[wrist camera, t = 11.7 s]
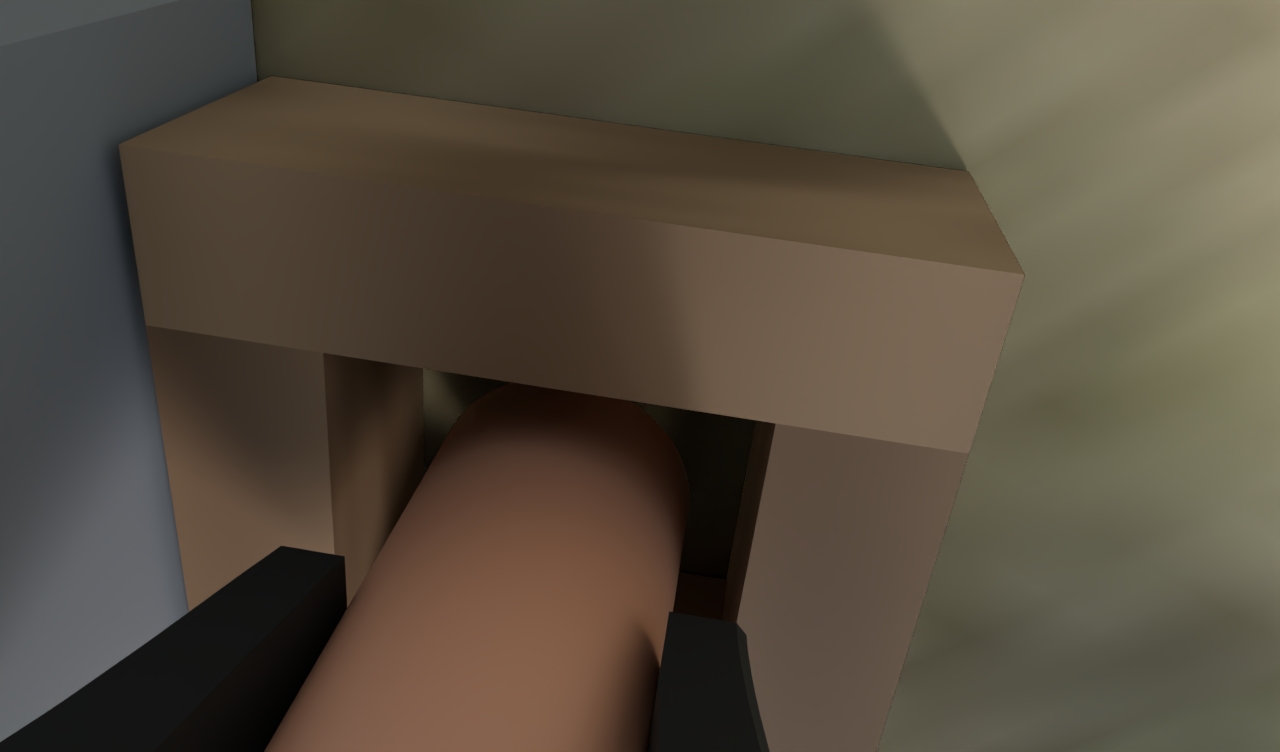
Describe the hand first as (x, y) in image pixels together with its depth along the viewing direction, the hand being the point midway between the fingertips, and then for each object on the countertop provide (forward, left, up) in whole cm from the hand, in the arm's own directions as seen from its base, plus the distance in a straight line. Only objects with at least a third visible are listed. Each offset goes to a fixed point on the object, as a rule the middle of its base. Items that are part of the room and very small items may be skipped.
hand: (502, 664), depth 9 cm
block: (0, 0, -4) cm, 4 cm away
